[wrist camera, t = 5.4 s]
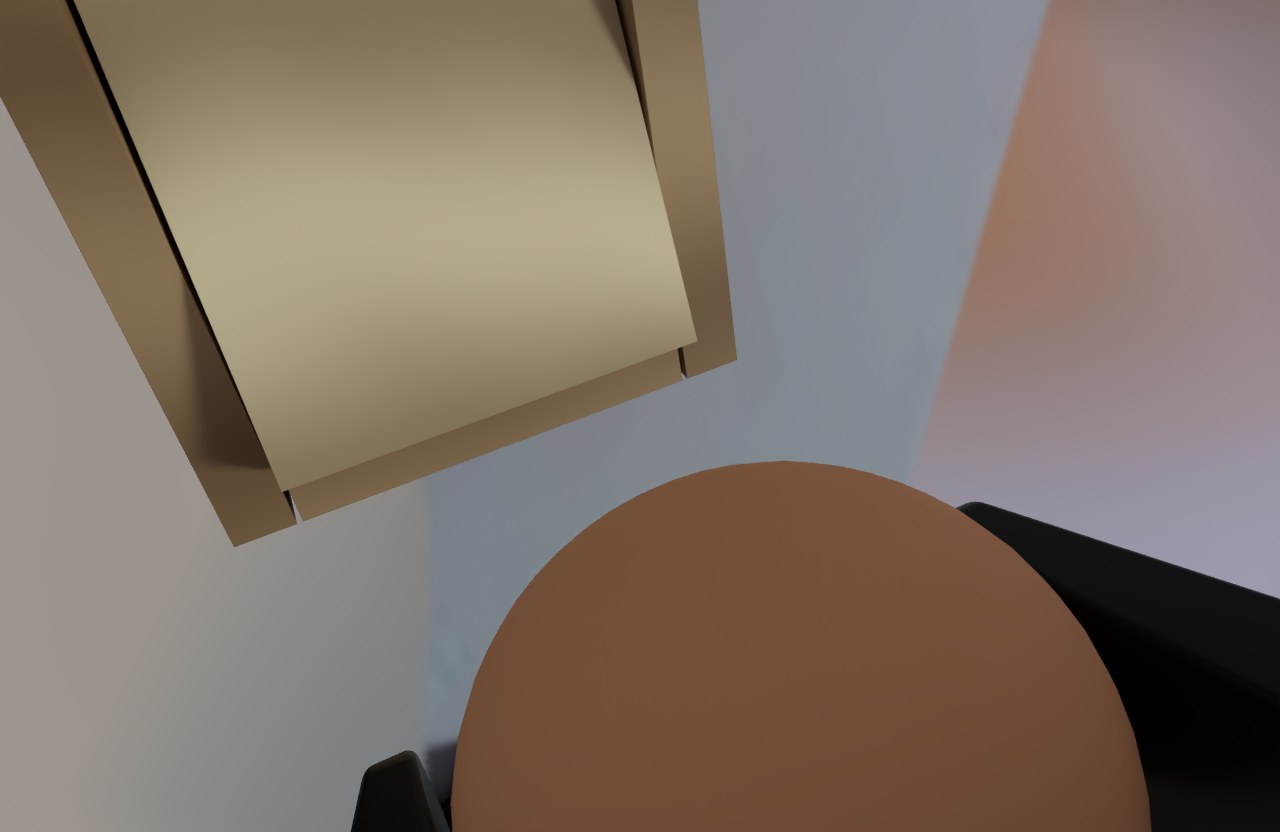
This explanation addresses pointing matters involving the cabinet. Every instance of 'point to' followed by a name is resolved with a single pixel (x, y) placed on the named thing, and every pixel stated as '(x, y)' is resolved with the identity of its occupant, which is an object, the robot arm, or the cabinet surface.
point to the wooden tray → (379, 221)
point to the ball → (793, 674)
